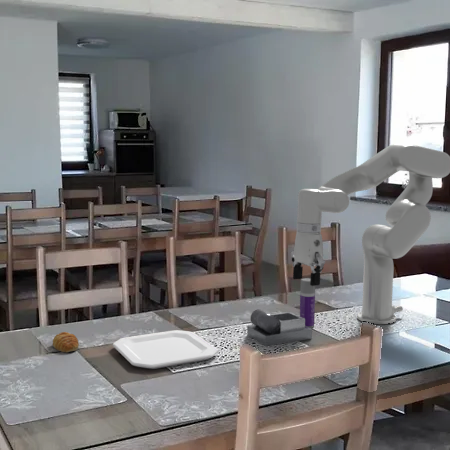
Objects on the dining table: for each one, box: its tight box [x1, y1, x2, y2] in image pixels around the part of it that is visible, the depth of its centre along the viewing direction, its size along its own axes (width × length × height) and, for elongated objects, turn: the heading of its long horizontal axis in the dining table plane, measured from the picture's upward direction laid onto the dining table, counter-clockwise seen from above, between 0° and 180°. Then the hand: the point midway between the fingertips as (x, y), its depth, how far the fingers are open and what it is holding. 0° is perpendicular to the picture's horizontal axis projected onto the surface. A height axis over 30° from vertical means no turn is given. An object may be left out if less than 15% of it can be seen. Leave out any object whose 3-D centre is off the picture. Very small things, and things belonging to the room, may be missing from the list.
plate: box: [112, 329, 219, 370], centre depth 171 cm, size 25×25×2 cm
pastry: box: [52, 331, 80, 353], centre depth 174 cm, size 9×7×4 cm
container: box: [299, 277, 316, 329], centre depth 196 cm, size 5×5×15 cm
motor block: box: [246, 309, 313, 347], centre depth 184 cm, size 16×11×8 cm
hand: (306, 282), depth 194 cm, fingers open, 9 cm apart
